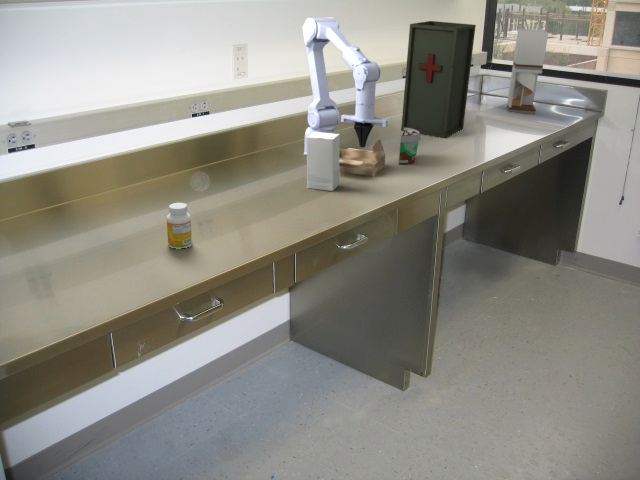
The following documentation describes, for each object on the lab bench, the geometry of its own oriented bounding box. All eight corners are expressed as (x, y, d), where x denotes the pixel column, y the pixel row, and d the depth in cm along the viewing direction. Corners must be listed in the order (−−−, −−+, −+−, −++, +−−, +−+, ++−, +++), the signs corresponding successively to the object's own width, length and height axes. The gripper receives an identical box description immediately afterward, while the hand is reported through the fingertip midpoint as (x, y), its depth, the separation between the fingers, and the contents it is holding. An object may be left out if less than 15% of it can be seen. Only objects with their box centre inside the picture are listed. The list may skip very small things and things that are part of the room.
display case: (508, 112, 294) (520, 31, 280) (506, 107, 304) (518, 28, 290) (535, 114, 292) (548, 32, 278) (532, 109, 302) (544, 30, 288)
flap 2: (376, 161, 201) (370, 146, 200) (384, 154, 209) (378, 139, 208) (377, 161, 201) (371, 146, 200) (385, 154, 209) (380, 139, 208)
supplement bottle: (169, 240, 152) (167, 201, 149) (193, 240, 153) (191, 201, 149) (166, 250, 148) (164, 209, 144) (191, 250, 148) (188, 209, 144)
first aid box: (463, 129, 262) (475, 24, 246) (445, 138, 247) (457, 28, 231) (420, 122, 271) (430, 20, 255) (401, 130, 256) (410, 23, 240)
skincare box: (339, 185, 193) (341, 133, 187) (332, 192, 187) (334, 139, 181) (312, 181, 195) (314, 130, 189) (305, 188, 190) (306, 135, 183)
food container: (417, 167, 212) (420, 137, 208) (398, 166, 213) (400, 136, 209) (419, 157, 223) (422, 128, 219) (401, 155, 224) (404, 127, 220)
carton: (325, 169, 207) (325, 156, 205) (341, 157, 220) (341, 144, 218) (373, 176, 202) (374, 163, 200) (387, 163, 215) (388, 150, 213)
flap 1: (334, 158, 204) (328, 161, 199) (334, 157, 203) (329, 160, 199) (365, 163, 200) (360, 165, 196) (365, 161, 200) (360, 164, 196)
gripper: (338, 103, 199) (336, 146, 204) (384, 108, 195) (381, 152, 200) (345, 99, 205) (343, 141, 211) (390, 103, 201) (387, 147, 206)
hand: (362, 146), depth 206 cm, fingers closed
